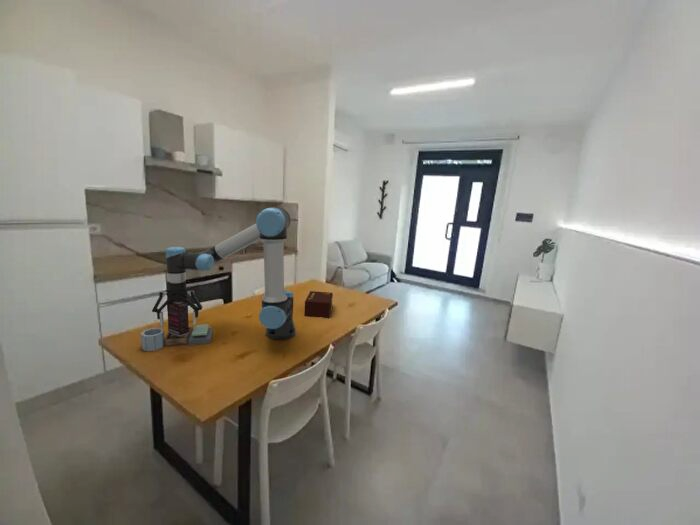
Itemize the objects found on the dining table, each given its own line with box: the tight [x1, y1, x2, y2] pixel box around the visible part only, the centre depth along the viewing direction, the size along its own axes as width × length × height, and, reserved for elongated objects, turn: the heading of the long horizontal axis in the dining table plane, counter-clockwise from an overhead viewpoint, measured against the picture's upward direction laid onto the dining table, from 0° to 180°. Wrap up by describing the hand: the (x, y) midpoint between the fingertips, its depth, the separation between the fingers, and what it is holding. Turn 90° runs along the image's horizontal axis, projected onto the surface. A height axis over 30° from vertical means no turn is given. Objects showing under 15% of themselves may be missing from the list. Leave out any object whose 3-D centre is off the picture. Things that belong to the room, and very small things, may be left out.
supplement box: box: [166, 300, 190, 337], centre depth 140 cm, size 9×5×16 cm, turn 64°
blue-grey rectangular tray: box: [187, 327, 214, 346], centre depth 144 cm, size 9×12×2 cm
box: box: [303, 290, 334, 319], centre depth 190 cm, size 21×16×10 cm
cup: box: [140, 327, 165, 352], centre depth 132 cm, size 8×8×7 cm
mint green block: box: [192, 323, 210, 336], centre depth 143 cm, size 6×10×4 cm, turn 19°
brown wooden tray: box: [163, 326, 194, 348], centre depth 141 cm, size 10×14×3 cm
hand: (178, 324), depth 140 cm, fingers open, 13 cm apart
